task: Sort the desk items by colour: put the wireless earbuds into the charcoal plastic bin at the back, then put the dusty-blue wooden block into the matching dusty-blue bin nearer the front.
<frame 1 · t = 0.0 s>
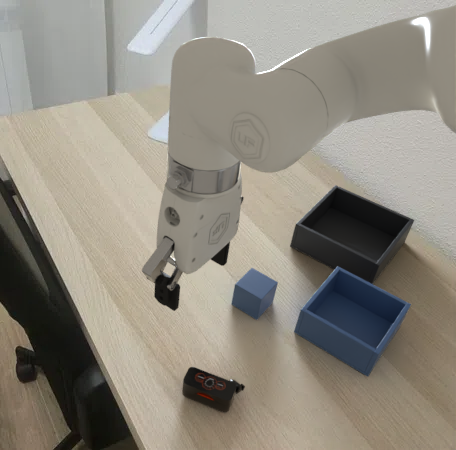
hand: (191, 280, 67), 14 cm above the table, tool pointing down, fingers open, 9 cm apart
blue block: (252, 303, 82), on the table
blue bin: (347, 329, 79), on the table
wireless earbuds: (214, 395, 71), on the table
charcoal bin: (347, 244, 93), on the table
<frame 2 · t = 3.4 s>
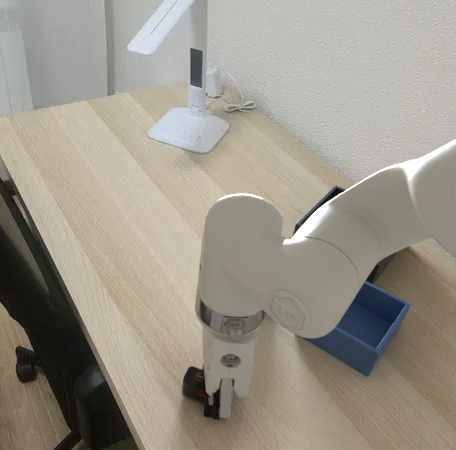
hand: (215, 395, 70), 0 cm above the table, tool pointing down, fingers closed on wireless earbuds, 4 cm apart
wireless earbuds: (214, 395, 71), on the table, touching gripper
everything else where it was.
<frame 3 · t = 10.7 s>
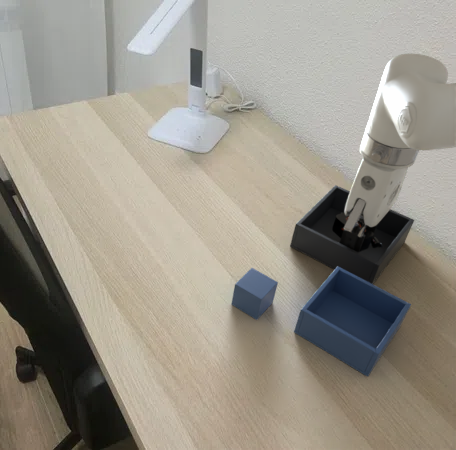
hand: (355, 241, 88), 4 cm above the table, tool pointing down, fingers closed on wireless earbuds, 4 cm apart
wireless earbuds: (355, 242, 89), point 3 cm above the table, touching gripper
everything else where it was.
when the fingers open (4 cm above the table, at t = 14.3 s): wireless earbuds drops 3 cm, resting on charcoal bin.
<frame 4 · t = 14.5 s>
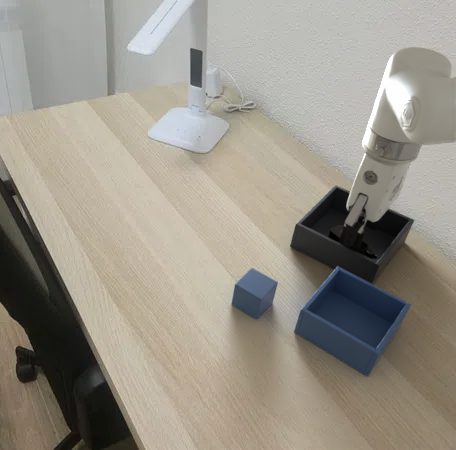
hand: (358, 235, 88), 5 cm above the table, tool pointing down, fingers open, 6 cm apart
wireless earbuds: (350, 254, 91), resting on charcoal bin
everything else where it was.
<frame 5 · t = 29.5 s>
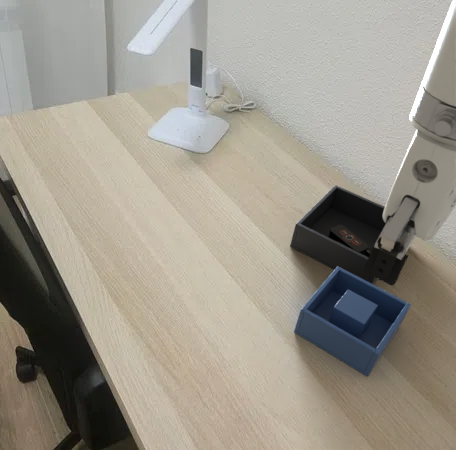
hand: (397, 252, 59), 22 cm above the table, tool pointing down, fingers open, 9 cm apart
blue block: (347, 326, 79), resting on blue bin
everything else where it was.
at the end: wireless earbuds inside the target area in the charcoal bin (2.8 cm from its centre), point 0.3 cm above the charcoal bin's base; blue block inside the target area in the blue bin (0.1 cm from its centre), point 0.5 cm above the blue bin's base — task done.
